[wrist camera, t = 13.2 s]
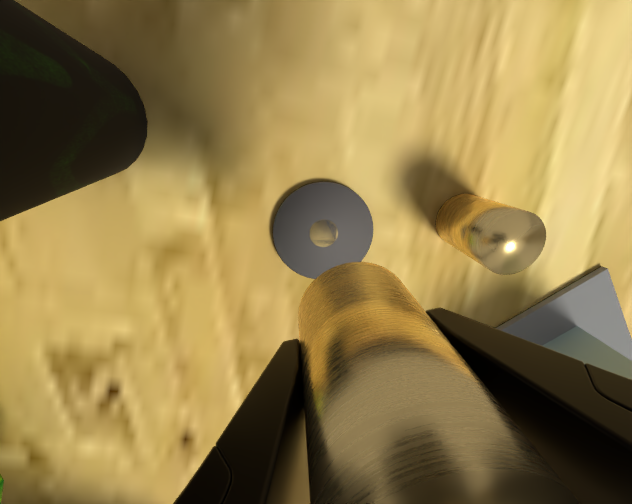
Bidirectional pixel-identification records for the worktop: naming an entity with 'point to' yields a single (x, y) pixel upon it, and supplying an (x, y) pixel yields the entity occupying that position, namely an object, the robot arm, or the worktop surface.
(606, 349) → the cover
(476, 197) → the pin
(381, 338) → the peg
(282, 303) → the worktop surface
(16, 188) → the cup
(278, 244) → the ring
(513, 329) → the mat
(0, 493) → the lettuce
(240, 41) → the worktop surface
